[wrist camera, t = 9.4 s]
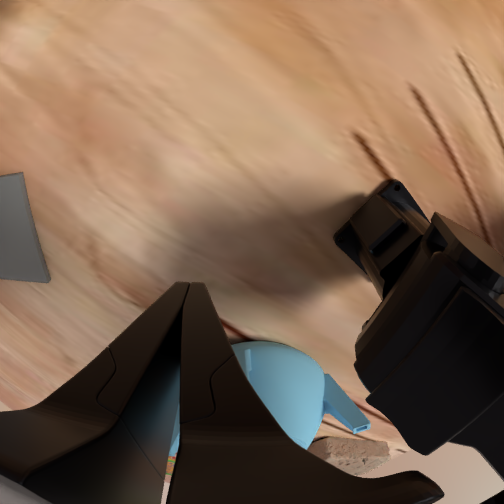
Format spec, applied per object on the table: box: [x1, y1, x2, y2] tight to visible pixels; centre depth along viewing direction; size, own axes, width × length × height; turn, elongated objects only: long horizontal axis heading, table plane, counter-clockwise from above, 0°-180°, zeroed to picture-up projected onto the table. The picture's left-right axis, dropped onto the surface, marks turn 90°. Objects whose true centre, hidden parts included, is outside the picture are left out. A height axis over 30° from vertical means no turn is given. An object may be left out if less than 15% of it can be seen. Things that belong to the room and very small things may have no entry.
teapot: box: [169, 341, 370, 456], centre depth 26 cm, size 15×15×11 cm
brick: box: [307, 437, 391, 475], centre depth 41 cm, size 17×8×5 cm, turn 58°
